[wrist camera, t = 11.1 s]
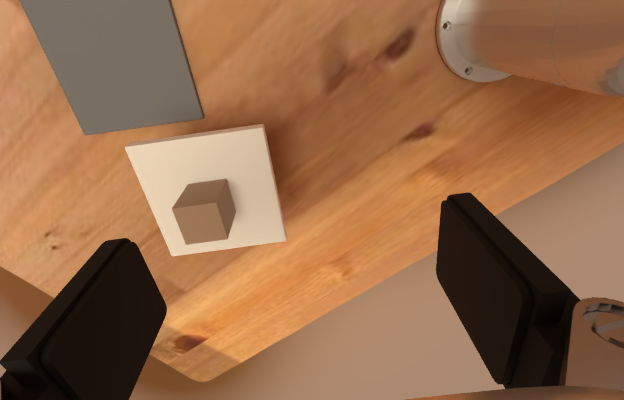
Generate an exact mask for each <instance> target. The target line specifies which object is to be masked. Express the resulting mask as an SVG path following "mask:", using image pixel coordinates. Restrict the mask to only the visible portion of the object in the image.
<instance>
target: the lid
mask: <svg viewBox="0 0 624 400" xmlns="http://www.w3.org/2000/svg"><path fill="white" fill-rule="evenodd" d="M125 149H126V152H127V154H128V156H129V159H130V161H131V163H132V165H133V168H134V170H135V172H136V175H137V177H138V179H139V182H140V184H141V186H142V188H143V191H144V193H145V195H146V198H147V200H148V202H149V205H150V207H151V209H152V212H153V214H154V216H155V218H156V221H157V223H158V225H159V228H160V230H161V232H162V235H163V237H164V239H165V241H166V244H167V246H168V248H169V251H170V253H171V255H172V256H179V255H186V254H194V253H201V252H209V251H216V250H223V249H231V248H238V247H246V246H253V245H261V244H268V243H275V242H283V241H286V235H287V234H286V229H285V224H284V220H283V215H282V210H281V205H280V200H279V195H278V190H277V185H276V181H275V176H274V171H273V166H272V161H271V156H270V151H269V147H268V142H267V137H266V132H265V127H264V124H258V125H251V126H244V127H237V128H230V129H223V130H216V131H209V132H202V133H195V134H188V135H181V136H173V137H166V138H159V139H152V140H145V141H138V142H131V143H130V144H128V145H127V146H125Z"/></svg>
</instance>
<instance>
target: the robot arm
mask: <svg viewBox="0 0 624 400" xmlns="http://www.w3.org/2000/svg"><path fill="white" fill-rule="evenodd" d="M444 23H445V24H446V27H445V28H444V29H443V24H444ZM436 38H437V45H438V48H439V52H440V55H441V57H442V58H443V60H444V62H445V64H446V65H447V66H448V67H449V68H450V70H451V71H453V72H454V73H455V74H457V75H458V76H460V77H462V78H465V79H467V80H471V81H474V82H485V83H486V82H494V81H498V80H501V79H504V78H507V77H509V76H511V75H517V76H521V77H525V78H529V79H533V80H538V81H542V82H546V83H550V84H554V85H558V86H563V87H567V88H571V89H576V90H580V91H584V92H589V93H593V94H597V95H604V96H611V97H624V0H442V2H441V4H440V8H439V12H438V16H437V24H436ZM466 68H467V71H466V72H465V69H466ZM436 274H437V278H438V280H439V282H440V284H441V286H442V288H443V290H444V291H445V293H446V295H447V297H448V299H449V300H450V302H451V304H452V306H453V307H454V309H455V311H456V313H457V315H458V317H459V318H460V320H461V322H462V324H463V325H464V327H465V329H466V331H467V333H468V334H469V336H470V338H471V340H472V342H473V343H474V345H475V347H476V349H477V351H478V352H479V354H480V356H481V358H482V360H483V361H484V363H485V365H486V367H487V368H488V370H489V372H490V374H491V376H492V378H493V379H494V380H495V382H496V383H497V384H503V385H504V387H505V389H502V390H492V391H481V392H471V393H460V394H450V395H441V396H432V397H423V398H414V399H406V400H624V303H623V302H620V301H617V300H612V299H607V298H593V297H592V298H587V299H583V300H580V299H579V298H578V297H577V296H576V295H574V293H573V292H572V291H571V290H570V289H569V288H568V287H567V286H566V285H565V284H564V283H563V282H562V281H561V280H560V279H559V278H558V277H557V276H556V275H555V274H554V273H553V272H552V271H551V270H550V269H549V268H548V267H547V266H545V264H543V263H542V262H541V261H540V260H539V259H538V258H537V257H536V256H535V255H534V254H533V253H532V252H531V251H530V250H529V249H528V248H527V247H526V246H525V245H524V244H523V243H522V242H521V241H520V240H519V239H517V237H515V236H514V234H512V233H511V232H510V231H509V230H508V229H507V228H506V227H505V226H504V225H503V224H502V223H501V222H500V221H499V220H498V219H497V218H496V217H495V216H494V215H493V214H492V213H491V212H490V211H489V210H488V209H487V208H486V207H485V206H484V205H483V204H482V203H480V202H479V201H478V200H477V199H476V198H475V197H474V196H473V195H472V194H471V193H461V194H454V195H449V196H448V198H447V200H445V201H442V204H441V214H440V227H439V239H438V252H437V264H436ZM166 312H167V308H166V304H165V301H164V299H163V297H162V295H161V293H160V291H159V289H158V287H157V285H156V283H155V281H154V279H153V277H152V275H151V273H150V271H149V269H148V267H147V265H146V262H145V260H144V258H143V256H142V254H141V252H140V250H139V248H138V246H137V245H136V243H134V242H131V241H130V240H129V239H127V238H123V239H115V240H108V241H105V242H104V243H103V244H102V245H101V246H100V247H99V248H98V249H97V250H96V252H95V253H94V254H93V255H92V256H91V257H90V258H89V260H88V261H87V262H86V263H85V264H84V265H83V267H82V268H81V269H80V270H79V271H78V272H77V273H76V275H75V276H74V277H73V278H72V279H71V280H70V281H69V283H68V284H67V285H66V286H65V287H64V288H63V289H62V291H61V292H60V293H59V294H58V295H57V296H56V297H55V299H54V300H53V301H52V302H51V303H50V304H49V306H48V307H47V308H46V309H45V310H44V311H43V312H42V314H41V315H40V316H39V317H38V318H37V319H36V320H35V322H34V323H33V324H32V325H31V326H30V327H29V329H28V330H27V331H26V332H25V333H24V334H23V335H22V336H21V338H20V339H19V340H18V341H17V342H16V343H15V344H14V346H13V347H12V348H11V349H10V350H9V351H8V352H7V354H6V355H5V356H4V357H3V358H2V359H1V361H0V364H1V365H2V366H3V367H4V368H5V369H6V370H7V371H6V372H5V373H4V374H3V376H2V377H1V378H0V400H129V397H130V396H131V393H132V391H133V389H134V386H135V384H136V382H137V380H138V377H139V375H140V373H141V371H142V368H143V366H144V364H145V362H146V359H147V357H148V355H149V353H150V350H151V348H152V346H153V344H154V341H155V339H156V337H157V334H158V332H159V330H160V328H161V325H162V323H163V321H164V319H165V316H166Z"/></svg>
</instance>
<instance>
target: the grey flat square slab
mask: <svg viewBox="0 0 624 400" xmlns="http://www.w3.org/2000/svg"><path fill="white" fill-rule="evenodd" d="M19 1H20V3H21V5H22V7H23V9H24V11H25V13H26V15H27V17H28V19H29V21H30V23H31V25H32V27H33V30H34V32H35V34H36V36H37V38H38V40H39V42H40V44H41V46H42V48H43V50H44V52H45V54H46V56H47V58H48V60H49V62H50V65H51V67H52V69H53V71H54V73H55V75H56V77H57V79H58V81H59V83H60V85H61V87H62V89H63V91H64V93H65V95H66V98H67V100H68V102H69V104H70V106H71V108H72V110H73V112H74V114H75V116H76V118H77V120H78V122H79V124H80V126H81V128H82V130H83V133H84V135H91V134H98V133H105V132H112V131H119V130H126V129H133V128H141V127H148V126H155V125H162V124H169V123H176V122H183V121H191V120H198V119H203V118H204V114H203V111H202V107H201V104H200V100H199V97H198V94H197V90H196V87H195V83H194V80H193V76H192V73H191V70H190V66H189V63H188V59H187V56H186V52H185V49H184V45H183V42H182V39H181V35H180V32H179V28H178V25H177V21H176V18H175V14H174V11H173V8H172V4H171V1H170V0H19Z"/></svg>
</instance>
